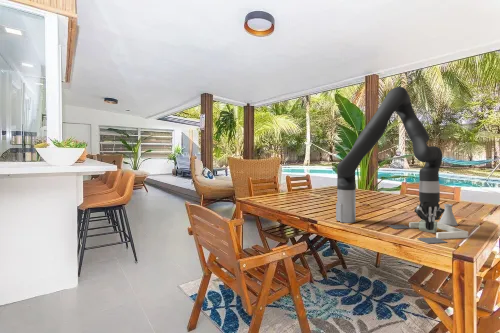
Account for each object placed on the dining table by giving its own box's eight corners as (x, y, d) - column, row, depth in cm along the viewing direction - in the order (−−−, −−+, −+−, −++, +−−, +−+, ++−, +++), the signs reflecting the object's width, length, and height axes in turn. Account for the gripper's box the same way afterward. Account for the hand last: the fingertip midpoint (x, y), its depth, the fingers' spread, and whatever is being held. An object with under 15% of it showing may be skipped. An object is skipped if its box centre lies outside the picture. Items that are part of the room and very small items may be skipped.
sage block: (435, 232, 112) (435, 224, 112) (419, 230, 116) (419, 221, 116) (436, 229, 116) (437, 221, 116) (421, 227, 120) (421, 219, 120)
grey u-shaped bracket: (438, 239, 104) (438, 233, 104) (409, 227, 121) (409, 222, 121) (468, 237, 105) (468, 231, 105) (435, 226, 122) (435, 221, 122)
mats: (428, 243, 99) (428, 243, 99) (387, 225, 125) (387, 225, 125) (447, 242, 100) (447, 242, 100) (402, 225, 125) (402, 224, 125)
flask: (435, 222, 128) (435, 203, 128) (448, 222, 129) (448, 203, 129) (447, 226, 121) (447, 206, 121) (461, 226, 122) (461, 205, 121)
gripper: (421, 192, 107) (422, 232, 107) (450, 191, 108) (450, 231, 108) (409, 190, 115) (409, 228, 115) (436, 189, 115) (436, 226, 116)
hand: (429, 229), depth 112 cm, fingers closed
